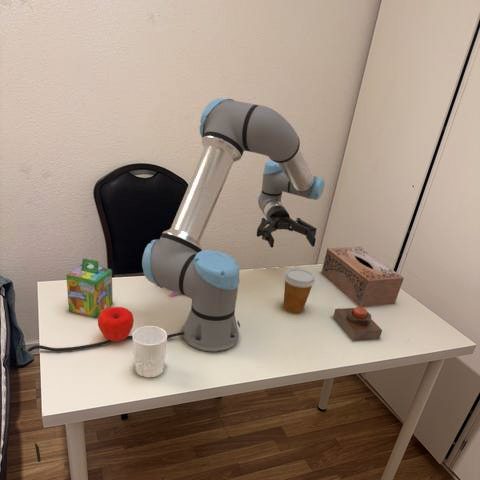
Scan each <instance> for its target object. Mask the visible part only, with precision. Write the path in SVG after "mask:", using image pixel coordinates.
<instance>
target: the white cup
mask: <svg viewBox="0 0 480 480" xmlns="http://www.w3.org/2000/svg"><path fill="white" fill-rule="evenodd" d="M167 335H168V333H167V331H166V330H165V329H164V328H161V326H157V325H145V326H140V327H138V328H136V329H135V330H133V332H132V335H131V336H132V338H133V339H132V350H133V361H134V369H135V373H137V375H139V376H141V377H142V378H143V377H144V378H155V377H158V376H160V375H161V374H162V373H163V372H164V370H165V369H164V368H165V361H166V352H167V343H168V338H167Z"/></svg>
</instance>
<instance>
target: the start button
mask: <svg viewBox="0 0 480 480" xmlns="http://www.w3.org/2000/svg"><path fill="white" fill-rule="evenodd" d="M353 308H354V311H353V315H354V316H356V317H358V318H366V316H367V312H368V313H369V311H368V310H367V309H366V308H365V307H359V306H355V307H353Z"/></svg>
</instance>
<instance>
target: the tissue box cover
mask: <svg viewBox="0 0 480 480" xmlns="http://www.w3.org/2000/svg"><path fill="white" fill-rule="evenodd" d="M321 275H323V276H324V277H326V278H327V280H329V281H330V282H331V283H332V284H333V285H334V286H336V287H337V289H339V290H340V291H341V292H342V293H344V294H345V295H346V296H347V297H348V298H349V299H350V300H352V302H353V303H355V304H356V305H357V307H362V308H367V307H377V306H386V305H395V304H396V302H397V300H398V296H399V293H400V290H401V287H402V285H403V281H404V279H405V277H403V276H402V275H401V274H399V273H398V272H397V271H395V270H393V269H392V268H391V267H389V266H388V265H387V264H385V263H384V262H382V261H381V260H380V259H378V258H377V257H375V256H374V255H372V254H371V253H370V252H368V251H367V250H365V249H364V248H362V247H361V246H348V247H347V246H346V247H345V246H344V247H327V248H326V252H325V256H324V260H323V265H322V269H321Z"/></svg>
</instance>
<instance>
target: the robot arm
mask: <svg viewBox="0 0 480 480" xmlns="http://www.w3.org/2000/svg"><path fill="white" fill-rule="evenodd" d="M199 122H200V125H199V135H200V137H201V145H202V147H203V151H202V152H201V156H200V157H199V159H198V162H197V165H196V167H195V170H194V171H193V173H192V176H191V179H190V181H189V183H188V186H187V188H186V190H185V193H184V196H183V198H182V200H181V202H180V205H179V207H178V210H177V212H176V215H175V217H174V219H173V222H172V224H171V227H170V228H169V229H167V230H164V231H163V232H162V233H161V235H160V238H159V239H158V238H157V239H152V240H151V241H150V242H149V243H147V245H146V247H145V248H144V251H143V254H142V259H141V266H142V270H143V271H142V272H143V275H144V277H145V279H146V280H148V281H149V282H150V283H152V284H154V285H156V286H157V287H159V288H161V289H162V288H164V289H166V290H168V291H171V292H172V291H174V292H176V293H179V295H182V296H185V297H186V298H189V299H191V304H190V305H191V306H190V308H191V309H190V311H189V313H188V315H187V317H186V320H185V322H184V324H183V328H182V331H180V332H174V333H171V334H167V339H170V338H175V337H180V336H182V338H183V340H184V341H185V343H186V344H188V345H189V346H190V347H192V348H194V349H197V350H199V351H203V352H208V353H217V352H224V351H227V350H230V349H232V348H233V347H234V346H236V344H237V343H238V340H239V329H240V328H241V324H240V322H239V320H237V319H236V315H235V311H236V306H237V305H236V304H237V299H238V289H239V285H240V266H239V264H238V261H236V260H235V258H233V257H232V256H231V255H229V254H227V253H225V252H221V251H219V250H212V249H204V250H203V247H202V245H201V240H202V238H203V235H204V233H205V231H206V229H207V226H208V224H209V221H210V219H211V217H212V214H213V212H214V210H215V208H216V204H217V203H218V200H219V198H220V195H221V193H222V190H223V188H224V186H225V183H226V181H227V179H228V176H229V173H230V171H231V169H232V166H233V164H234V163H237V162H240V160H241V159H242V157H243V155H244V152H250V153H255V154H258V155H262V156H266V157H268V158H269V159H268V160H267V161H265V163H264V167H263V172H262V184H261V192H260V194H259V195H258V197H257V204H258V207H259V210H260V211H261V213H262V214H263V215H264V217H262V218H261V221H260V223H259V225H258V227H257V228H256V237H257V238H259V237H261V240H263V241H266V242H267V243H268V244H269V247H270V248H274V244H275V238H274V236H273V234H272V233H273V232H276V231H277V230H281V231H282V230H285V231H286V230H287V231H290V232H296V233H298V234H301V235H303V236H305V238H306V240H307V241H308V243H309V244H310V246H311V247H313V248H314V247H315V245H316V241H317V240H316V239H317V238H316V235H317V230H318V228H317V227H315V226H314V225H311V224H310V223H307V222H306V221H304V220H303V219H301V218H300V217H296V219H292V217H291V216H290V214H289V212H288V210H287V209H286V207H285V206H284V205H283V202H282V196H283V193H286V194H291V195H295V196H298V197H301V198H305V199H308V200H313V201H318V200H320V198H321V197H322V195H323V193H324V189H325V186H326V185H325V183H326V182H325V179H324V178H323V177H319V176H317V175H314V173H313V171H312V169H311V168H310V166H309V164H308V162H307V159H306V158H305V156H304V154H303V151H302V149H301V148H300V147H301V141H300V137H299V136H298V134H297V132H296V130H295V128H294V127H293V126H292V125H291V123H290V122H289V121H288V120H287V119H286V118H285V117H284V116H282V114H281V113H279V112H278V111H276V110H275V109H273V108H272V107H269V106H266V105H262V104H261V105H259V104H254V103H249V102H243V101H238V100H234V99H233V98H222V97H221V98H220V97H219V98H215V99H212V100H211V101H210V102H209V103H207V105H206V106H205V108H204V110H203V111H202V114H201V116H200V119H199ZM124 340H133V338H132V335H128V336H127V337H126V338H125V339H124ZM114 342H115V341H110V340H107V339H106V340H103V341H99V342H96V343H90V344H84V345H83V344H82V345H78V346H69V347H51V346H46V345H40V344H37V345H33V346H30V347H29V348H28V349H27V351H26V352H28V353H29V352H32V351H33V350H37V349H39V350H45V351H49V352H69V351H77V350H85V349H90V348H96V347H100V346H104V345H107V344H111V343H114ZM34 447H35V453H36V458H37V462H38V463H40V462H42V459H41V454H40V448H39V445H38V444H37V443H36V442H35V441H34Z"/></svg>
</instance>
